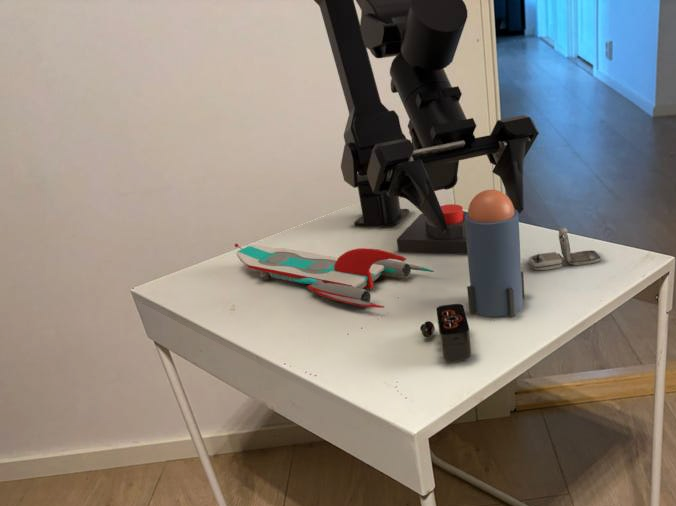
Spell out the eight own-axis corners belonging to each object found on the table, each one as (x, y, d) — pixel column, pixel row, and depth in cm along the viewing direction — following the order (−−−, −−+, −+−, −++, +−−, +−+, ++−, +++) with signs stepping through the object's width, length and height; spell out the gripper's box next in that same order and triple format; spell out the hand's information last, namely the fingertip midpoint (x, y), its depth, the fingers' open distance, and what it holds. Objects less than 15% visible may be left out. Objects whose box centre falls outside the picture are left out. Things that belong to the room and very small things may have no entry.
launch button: (441, 216, 96) (440, 203, 95) (466, 217, 95) (465, 204, 94) (433, 225, 93) (431, 213, 92) (459, 226, 92) (458, 213, 92)
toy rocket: (456, 302, 80) (445, 189, 74) (508, 287, 83) (502, 176, 76) (485, 325, 75) (475, 206, 68) (539, 308, 78) (535, 191, 71)
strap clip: (533, 272, 86) (532, 239, 84) (527, 262, 89) (526, 230, 86) (601, 262, 87) (602, 229, 85) (593, 253, 90) (594, 221, 87)
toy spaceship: (205, 297, 91) (192, 259, 88) (265, 263, 99) (254, 227, 97) (384, 313, 78) (374, 269, 76) (434, 273, 87) (427, 232, 84)
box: (422, 225, 103) (419, 202, 101) (489, 227, 100) (487, 202, 99) (398, 252, 95) (394, 227, 93) (470, 254, 92) (468, 228, 90)
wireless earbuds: (464, 327, 75) (461, 299, 73) (472, 361, 69) (470, 331, 67) (420, 333, 75) (416, 305, 73) (424, 367, 69) (421, 338, 67)
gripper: (482, 128, 89) (532, 236, 86) (341, 156, 82) (389, 275, 79) (510, 67, 79) (568, 187, 76) (352, 94, 72) (408, 227, 69)
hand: (483, 221), depth 76 cm, fingers open, 9 cm apart
